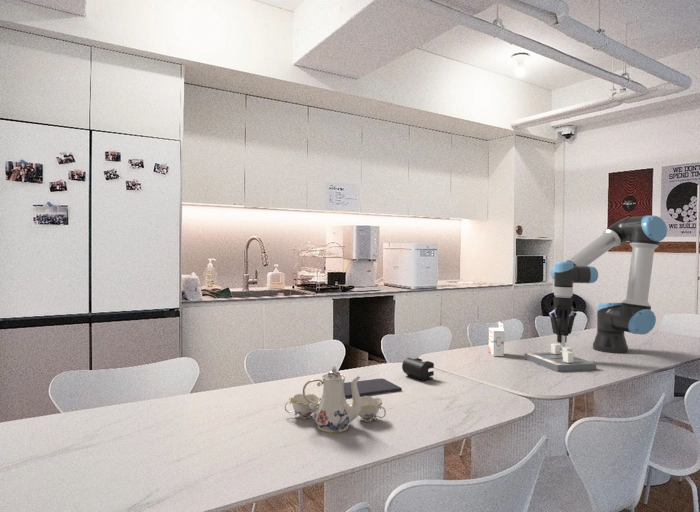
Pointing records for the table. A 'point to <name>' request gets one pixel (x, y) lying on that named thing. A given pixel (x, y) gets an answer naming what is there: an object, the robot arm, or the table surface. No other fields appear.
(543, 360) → the switch panel
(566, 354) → the tab
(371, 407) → the chinaware
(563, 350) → the tab
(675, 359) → the table surface
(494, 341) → the ink cartridge box
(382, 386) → the notebook
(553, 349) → the tab
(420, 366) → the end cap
